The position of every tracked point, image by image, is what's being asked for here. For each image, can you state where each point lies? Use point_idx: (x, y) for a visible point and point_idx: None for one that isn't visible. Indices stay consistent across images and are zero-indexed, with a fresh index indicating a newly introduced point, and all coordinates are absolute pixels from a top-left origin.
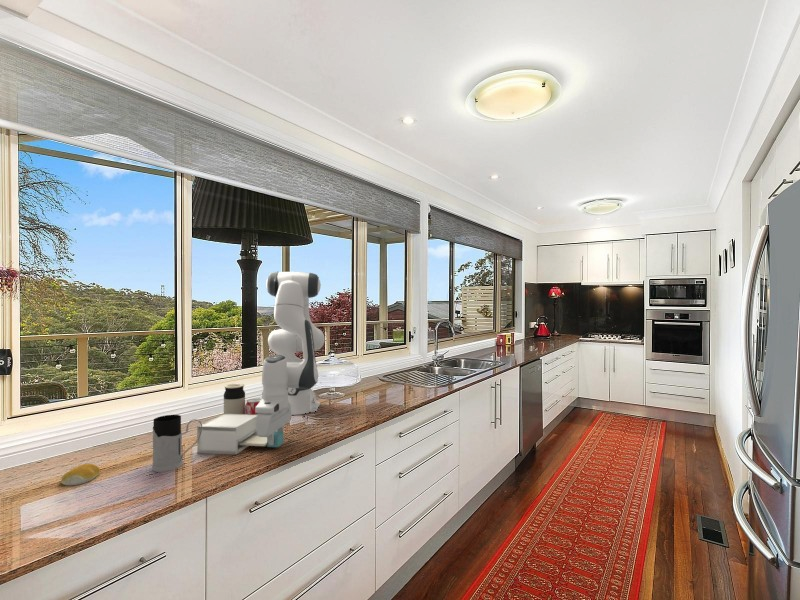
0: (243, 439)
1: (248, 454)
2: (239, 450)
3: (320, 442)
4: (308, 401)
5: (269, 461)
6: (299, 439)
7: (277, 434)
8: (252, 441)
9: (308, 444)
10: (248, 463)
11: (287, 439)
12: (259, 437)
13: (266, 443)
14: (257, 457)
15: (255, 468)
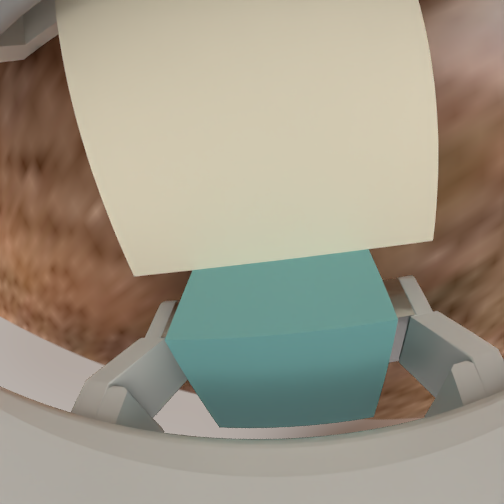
0: (7, 24)
1: (59, 143)
2: (55, 28)
3: (407, 414)
4: None
5: (79, 338)
6: (476, 323)
7: (254, 416)
8: (129, 56)
9: (381, 397)
10: (5, 256)
11: (492, 249)
12: (341, 28)
13: (176, 266)
14: (63, 251)
15: (13, 314)
